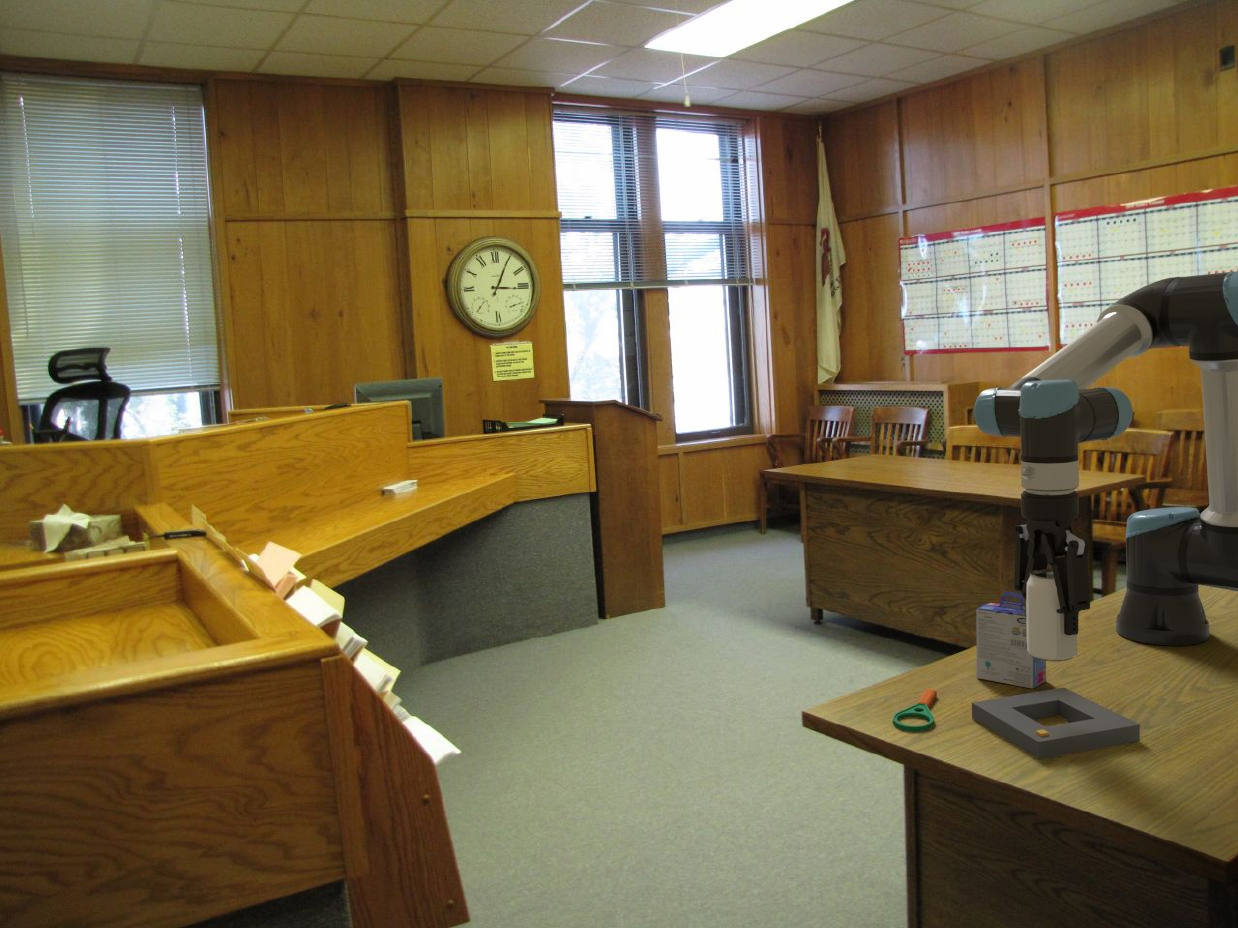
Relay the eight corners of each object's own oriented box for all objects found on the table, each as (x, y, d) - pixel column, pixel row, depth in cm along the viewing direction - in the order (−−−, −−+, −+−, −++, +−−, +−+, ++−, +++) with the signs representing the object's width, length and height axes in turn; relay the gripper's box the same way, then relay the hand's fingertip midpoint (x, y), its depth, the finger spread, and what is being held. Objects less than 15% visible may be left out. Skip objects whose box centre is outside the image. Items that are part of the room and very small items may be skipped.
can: (1073, 648, 148) (1073, 568, 146) (1078, 663, 142) (1077, 579, 140) (1026, 647, 150) (1025, 567, 148) (1028, 661, 144) (1027, 578, 142)
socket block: (1064, 702, 157) (1064, 684, 157) (1139, 741, 142) (1139, 721, 141) (972, 718, 153) (971, 699, 153) (1038, 759, 138) (1038, 739, 138)
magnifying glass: (929, 736, 149) (928, 725, 149) (887, 731, 152) (887, 720, 152) (950, 700, 162) (950, 690, 162) (912, 696, 165) (911, 686, 165)
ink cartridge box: (1048, 680, 167) (1047, 594, 165) (1035, 690, 163) (1033, 602, 161) (989, 669, 174) (988, 587, 172) (975, 679, 170) (973, 594, 168)
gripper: (986, 484, 151) (988, 634, 154) (1071, 502, 133) (1072, 672, 136) (1030, 479, 153) (1032, 627, 156) (1120, 496, 135) (1120, 665, 137)
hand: (1051, 648), depth 146 cm, fingers closed on can, 6 cm apart
